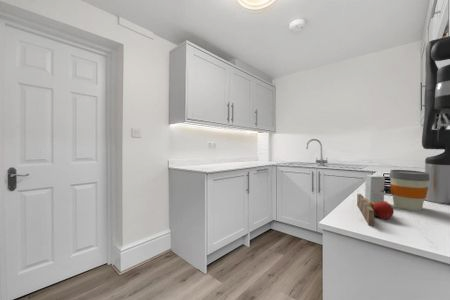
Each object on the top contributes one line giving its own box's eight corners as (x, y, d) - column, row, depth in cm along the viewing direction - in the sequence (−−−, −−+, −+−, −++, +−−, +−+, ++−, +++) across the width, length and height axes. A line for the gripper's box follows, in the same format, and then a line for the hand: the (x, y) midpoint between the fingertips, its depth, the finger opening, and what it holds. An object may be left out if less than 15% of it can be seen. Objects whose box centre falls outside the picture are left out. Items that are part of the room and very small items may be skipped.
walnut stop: (357, 205, 89) (357, 193, 89) (360, 205, 89) (361, 194, 89) (368, 225, 68) (369, 210, 68) (373, 226, 67) (374, 210, 67)
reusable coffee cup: (386, 206, 87) (387, 171, 86) (390, 200, 96) (391, 168, 95) (427, 214, 78) (429, 175, 77) (428, 207, 87) (429, 171, 86)
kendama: (353, 208, 90) (373, 217, 72) (355, 193, 90) (376, 199, 73) (373, 212, 88) (398, 223, 71) (375, 198, 88) (401, 204, 71)
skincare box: (370, 203, 92) (371, 176, 92) (364, 200, 97) (364, 174, 96) (384, 203, 92) (385, 176, 91) (377, 200, 96) (378, 174, 96)
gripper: (478, 89, 66) (476, 140, 66) (452, 98, 78) (450, 140, 79) (446, 91, 69) (444, 140, 69) (426, 99, 82) (425, 140, 82)
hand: (448, 140), depth 74 cm, fingers open, 8 cm apart
